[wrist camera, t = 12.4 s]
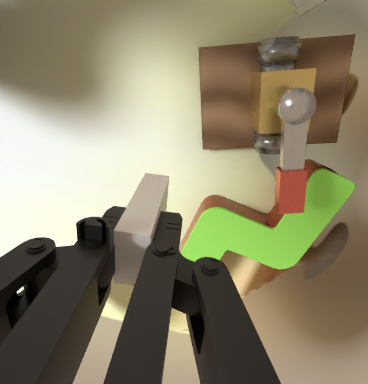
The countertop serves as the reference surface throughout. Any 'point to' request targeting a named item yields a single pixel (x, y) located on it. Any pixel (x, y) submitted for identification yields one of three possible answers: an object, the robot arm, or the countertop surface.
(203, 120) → the board
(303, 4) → the supplement box
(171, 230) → the robot arm
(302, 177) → the lever
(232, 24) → the countertop surface
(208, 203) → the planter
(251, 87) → the valve
